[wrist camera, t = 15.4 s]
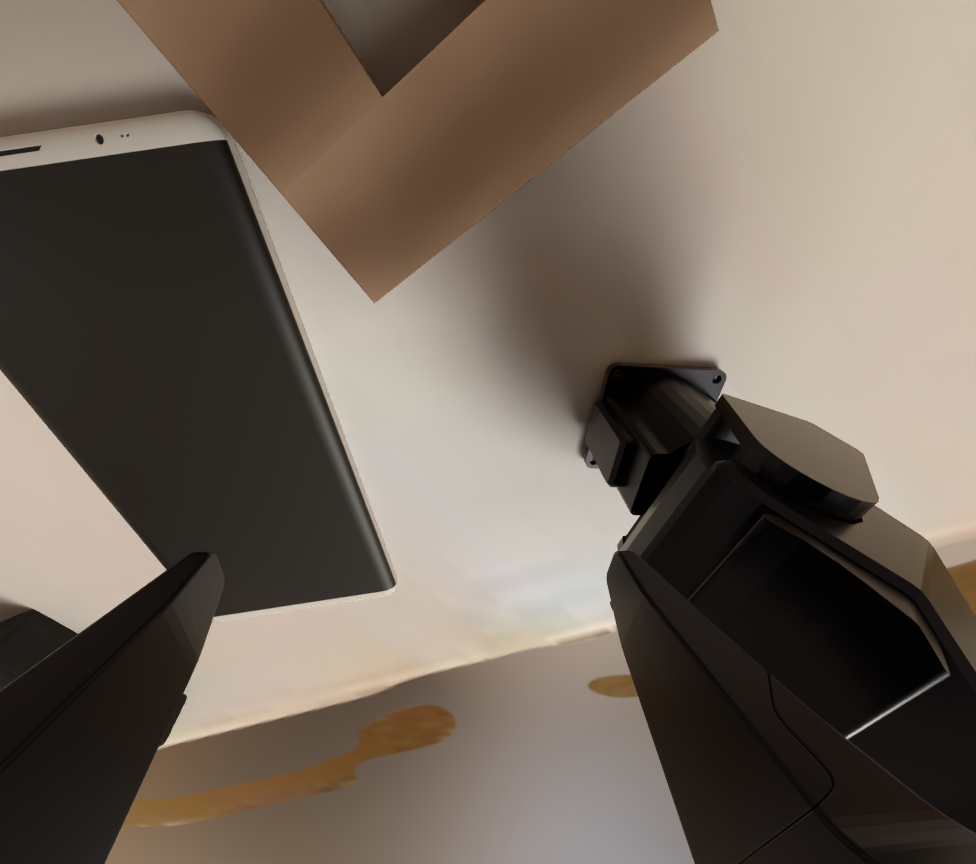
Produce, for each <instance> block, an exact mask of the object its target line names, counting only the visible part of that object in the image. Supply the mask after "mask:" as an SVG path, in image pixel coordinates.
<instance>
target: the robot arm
mask: <svg viewBox="0 0 976 864" xmlns="http://www.w3.org/2000/svg"><path fill="white" fill-rule="evenodd" d="M617 370H620V373H619V374H618V375H617V376H613V374H614V372H615V371H617ZM715 376H717V378H716V379H715V380H714V381H712V380H713V378H714V377H715ZM725 381H726V374H725V373H724V372H723V371H722V370H720V369H718V368H707V367H689V366H671V365H654V364H636V363H613V364H611V365H610V366H609V367H608V368H607V371H606V374H605V378H604V382H603V386H602V389H601V393H600V397H599V399H598V400H597V401H596V402H595V403H594V406H593V410H592V414H591V418H590V421H589V425H588V429H587V433H586V437H585V442H586V444H587V447H586V451H585V455H584V461H585V463H586V465H587V467H589V468H599V469H600V471H601V473H602V475H603V477H604V479H605V480H606V482H607V484H608V485H609V486H610V487H617V489H618V490H619V492H620V494H621V496H622V498H623V500H624V501H625V503H626V505H627V507H628V509H629V511H630V512H631V514H633V515H640V517H639V518H638V520H637V521H636V522H635V524H634V525H633V527H632V528H631V530H630V531H629V532H628V534H627V535H626V536H623V537H622V539H621V540H620V542H619V543H618V545H617V546H618V551H616V552H615V553H614V555H613V558H612V561H611V564H610V567H609V569H608V572H607V585H608V589H609V594H610V598H611V601H610V605H611V608H612V610H613V612H614V616H615V620H616V625H617V629H618V634H619V638H620V642H621V646H622V649H623V652H624V655H625V658H626V661H627V664H628V667H629V670H630V673H631V676H632V679H633V682H634V685H635V688H636V691H637V694H638V697H639V700H640V703H641V706H642V708H643V712H644V715H645V718H646V721H647V723H648V726H649V729H650V732H651V735H652V738H653V741H654V744H655V747H656V750H657V753H658V756H659V759H660V762H661V765H662V768H663V771H664V774H665V777H666V780H667V783H668V786H669V789H670V791H671V795H672V798H673V800H674V804H675V806H676V809H677V812H678V815H679V818H680V821H681V824H682V827H683V830H684V833H685V836H686V839H687V842H688V845H689V848H690V851H691V854H692V857H693V860H694V862H695V864H976V616H975V615H974V613H973V611H972V610H971V608H970V607H969V605H968V603H967V602H966V600H965V598H964V597H963V595H962V593H961V592H960V590H959V588H958V587H957V585H956V584H955V582H954V580H953V579H952V577H951V575H950V574H949V572H948V570H947V569H946V567H945V566H944V564H943V562H942V561H941V559H940V557H939V556H938V554H937V553H936V551H935V549H934V547H933V546H932V545H931V544H930V543H929V541H928V540H926V539H925V538H924V537H922V536H921V535H920V534H918V533H917V532H915V531H913V530H912V529H910V528H909V527H907V526H906V525H904V524H903V523H901V522H899V521H898V520H896V519H895V518H893V517H892V516H890V515H889V514H887V513H886V512H884V511H882V510H881V509H879V508H878V507H876V506H875V504H876V503H877V502H878V500H879V497H878V494H877V491H876V488H875V485H874V483H873V480H872V477H871V474H870V471H869V468H868V465H867V463H866V460H865V457H864V454H863V453H861V452H860V451H859V450H857V449H855V448H854V447H852V446H850V445H849V444H847V443H845V442H843V441H842V440H840V439H838V438H837V437H835V436H833V435H831V434H830V433H828V432H826V431H825V430H823V429H821V428H820V427H818V426H816V425H814V424H812V423H810V422H808V421H805V420H802V419H799V418H796V417H793V416H790V415H787V414H784V413H781V412H778V411H775V410H771V409H768V408H765V407H762V406H759V405H756V404H753V403H750V402H747V401H744V400H741V399H738V398H735V397H732V396H729V395H726V394H722V395H721V397H720V398H719V400H718V401H717V399H718V397H719V395H720V392H721V390H722V388H723V385H724V383H725ZM592 458H594V459H595V460H593V461H590V460H591V459H592ZM223 587H224V575H223V572H222V569H221V567H220V564H219V561H218V558H217V556H216V554H215V553H213V552H193V553H191V554H189V555H187V556H186V557H184V558H183V559H182V560H180V561H179V562H177V563H176V564H175V565H173V566H172V567H171V568H169V569H168V570H166V571H165V572H164V573H162V574H161V575H159V576H158V577H157V578H155V579H154V580H153V581H151V582H150V583H148V584H147V585H146V586H144V587H143V588H141V589H140V590H139V591H137V592H136V593H135V594H133V595H132V596H130V597H129V598H128V599H126V600H125V601H123V602H122V603H121V604H119V605H118V606H117V607H115V608H114V609H112V610H111V611H110V612H108V613H107V614H105V615H104V616H103V617H101V618H100V619H99V620H97V621H96V622H94V623H93V624H92V625H90V626H89V627H87V628H86V629H85V630H83V631H82V632H80V633H79V634H78V635H76V636H75V637H74V638H72V639H71V640H69V641H68V642H67V643H65V644H64V645H62V646H61V647H60V648H58V649H57V650H56V651H54V652H53V653H51V654H50V655H49V656H47V657H46V658H44V659H43V660H42V661H40V662H39V663H38V664H36V665H35V666H33V667H32V668H31V669H29V670H28V671H26V672H25V673H24V674H22V675H21V676H20V677H18V678H17V679H15V680H14V681H13V682H11V683H10V684H8V685H7V686H6V687H4V688H3V689H2V690H0V864H105V862H106V859H107V857H108V855H109V853H110V851H111V848H112V846H113V844H114V842H115V840H116V838H117V836H118V833H119V831H120V829H121V827H122V825H123V823H124V820H125V818H126V816H127V814H128V812H129V810H130V807H131V805H132V803H133V801H134V799H135V797H136V795H137V792H138V790H139V788H140V786H141V784H142V782H143V779H144V777H145V775H146V773H147V771H148V768H149V766H150V764H151V762H152V760H153V758H154V756H155V753H156V751H157V749H158V747H159V745H160V743H161V740H162V738H163V736H164V734H165V732H166V730H167V727H168V725H169V723H170V721H171V719H172V717H173V714H174V712H175V710H176V708H177V706H178V704H179V701H180V699H181V697H182V695H183V693H184V691H185V688H186V686H187V684H188V682H189V680H190V678H191V675H192V673H193V671H194V669H195V666H196V664H197V662H198V660H199V657H200V654H201V652H202V649H203V646H204V643H205V640H206V637H207V634H208V631H209V629H210V626H211V623H212V620H213V617H214V614H215V611H216V608H217V605H218V602H219V599H220V596H221V593H222V590H223Z"/></svg>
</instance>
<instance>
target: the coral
mask: <svg viewBox="0 0 976 864" xmlns="http://www.w3.org/2000/svg"><path fill="white" fill-rule="evenodd" d="M76 635H78V634H77V633H75V632H74V631H72V630H70V629H68V628H66V627H64V626H63V625H62V624H60V623H58V622H56V621H54V620H53V619H51V618H49V617H47V616H45V615H43V614H42V613H40V612H38V611H34V609H32V610H29V611H26V612H24V613H22V614H19V615H17V616H14V617H12V618H10V619H7V620H5V621H3V622H0V690H2V689H3V688H4V687H6V686H7V685H8V684H10V683H11V682H13V681H14V680H15V679H17V678H18V677H20V676H21V675H22V674H24V673H25V672H26V671H28V670H29V669H31V668H32V667H33V666H35V665H36V664H38V663H39V662H40V661H42V660H43V659H44V658H46V657H47V656H49V655H50V654H51V653H53V652H54V651H56V650H57V649H58V648H60V647H61V646H62V645H64V644H65V643H67V642H68V641H69V640H71V639H72V638H74V637H75V636H76ZM186 699H187V696H186V695H185V694H183V695H182V697H181V699H180V701H179V704H178V706H177V708H176V710H175V712H174V714H173V717H172V719H171V721H170V723H169V725H168V727H167V730H166V732H165V734H164V736H163V738H162V740H161V743H160V745H159V746H161V745H163V744H164V743H165V742H166V740H167V738H168V736H169V735H170V733H171V730H172V728H173V725H174V724H175V722H176V720H177V718H178V716H179V714H180V712H181V709H182V707H183V705H184V704H185V701H186Z"/></svg>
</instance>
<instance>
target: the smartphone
mask: <svg viewBox="0 0 976 864" xmlns="http://www.w3.org/2000/svg"><path fill="white" fill-rule="evenodd" d="M224 134H225V135H224ZM0 370H1V371H2V372H3V373H4V375H5V376H6V377H7V378H8V379H9V381H10V382H11V383H12V384H13V385H14V387H15V388H16V389H17V390H18V391H19V393H20V394H21V395H22V396H23V397H24V399H25V400H26V401H27V402H28V403H29V405H30V406H31V407H32V408H33V410H34V411H35V412H36V413H37V414H38V416H39V417H40V418H41V419H42V420H43V422H44V423H45V424H46V425H47V426H48V428H49V429H50V430H51V431H52V432H53V434H54V435H55V436H56V437H57V438H58V440H59V441H60V442H61V443H62V444H63V446H64V447H65V448H66V449H67V450H68V452H69V453H70V454H71V455H72V456H73V458H74V459H75V460H76V461H77V462H78V464H79V465H80V466H81V467H82V468H83V470H84V471H85V472H86V473H87V475H88V476H89V477H90V478H91V479H92V481H93V482H94V483H95V484H96V485H97V487H98V488H99V489H100V490H101V491H102V493H103V494H104V495H105V496H106V497H107V499H108V500H109V501H110V502H111V503H112V505H113V506H114V507H115V508H116V509H117V511H118V512H119V513H120V514H121V515H122V517H123V518H124V519H125V520H126V521H127V523H128V524H129V525H130V526H131V527H132V529H133V530H134V531H135V532H136V533H137V535H138V536H139V537H140V538H141V540H142V541H143V542H144V543H145V544H146V546H147V547H148V548H149V549H150V550H151V552H152V553H153V554H154V555H155V556H156V558H157V559H158V560H159V561H160V562H161V564H162V565H163V566H164V567H165V568H166V570H168V569H169V568H171V567H172V566H173V565H175V564H176V563H177V562H179V561H180V560H182V559H183V558H184V557H186V556H187V555H189V554H191V553H193V552H213V553H215V554H216V556H217V558H218V561H219V564H220V567H221V569H222V572H223V575H224V587H223V590H222V593H221V596H220V599H219V602H218V605H217V608H216V611H215V614H214V617H213V621H225V620H232V619H238V618H245V617H251V616H258V615H265V614H271V613H278V612H284V611H291V610H297V609H304V608H311V607H317V606H324V605H330V604H337V603H344V602H350V601H357V600H363V599H370V598H376V597H383V596H388V595H390V594H392V593H393V592H394V591H395V589H396V585H397V576H396V573H395V570H394V567H393V565H392V562H391V559H390V557H389V554H388V551H387V549H386V546H385V543H384V540H383V538H382V535H381V532H380V530H379V527H378V524H377V522H376V519H375V516H374V514H373V511H372V508H371V505H370V503H369V500H368V497H367V495H366V492H365V489H364V487H363V484H362V481H361V478H360V476H359V473H358V470H357V468H356V465H355V462H354V460H353V457H352V454H351V452H350V449H349V446H348V444H347V441H346V438H345V436H344V433H343V430H342V427H341V425H340V422H339V419H338V417H337V414H336V411H335V409H334V406H333V403H332V401H331V398H330V395H329V393H328V390H327V387H326V385H325V382H324V379H323V377H322V374H321V371H320V369H319V366H318V363H317V361H316V358H315V355H314V353H313V350H312V347H311V345H310V342H309V339H308V337H307V334H306V331H305V328H304V326H303V323H302V320H301V318H300V315H299V312H298V310H297V307H296V304H295V302H294V299H293V296H292V294H291V291H290V288H289V286H288V283H287V280H286V278H285V275H284V272H283V270H282V267H281V264H280V262H279V259H278V256H277V254H276V251H275V248H274V246H273V243H272V240H271V237H270V235H269V232H268V229H267V227H266V224H265V221H264V219H263V216H262V213H261V211H260V208H259V205H258V203H257V200H256V197H255V195H254V192H253V189H252V187H251V184H250V181H249V179H248V176H247V173H246V171H245V168H244V165H243V163H242V160H241V157H240V155H239V152H238V149H237V147H236V144H235V141H234V139H233V137H232V135H231V134H230V133H229V132H228V130H227V129H226V128H225V127H224V126H223V125H222V123H221V122H220V121H219V120H218V119H217V118H215V117H214V116H212V115H210V114H207V113H203V112H199V111H195V110H184V111H177V112H170V113H163V114H156V115H150V116H143V117H136V118H129V119H122V120H115V121H108V122H101V123H94V124H87V125H81V126H74V127H67V128H60V129H53V130H46V131H39V132H32V133H25V134H18V135H11V136H5V137H0Z"/></svg>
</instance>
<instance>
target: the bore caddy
mask: <svg viewBox="0 0 976 864" xmlns="http://www.w3.org/2000/svg"><path fill="white" fill-rule="evenodd" d="M117 1H118V2H119V4H120V5H121V6H122V7H123V8H124V9H125V11H126V12H127V13H128V14H129V15H130V16H131V18H132V19H133V20H134V21H135V22H136V24H137V25H138V26H139V27H140V28H141V29H142V31H143V32H144V33H145V34H146V35H147V36H148V38H149V39H150V40H151V41H152V42H153V44H154V45H155V46H156V47H157V48H158V49H159V51H160V52H161V53H162V54H163V55H164V56H165V58H166V59H167V60H168V61H169V62H170V63H171V65H172V66H173V67H174V68H175V69H176V71H177V72H178V73H179V74H180V75H181V76H182V78H183V79H184V80H185V81H186V82H187V83H188V85H189V86H190V87H191V88H192V89H193V91H194V92H195V93H196V94H197V95H198V96H199V98H200V99H201V100H202V101H203V102H204V103H205V105H206V106H207V107H208V108H209V109H210V111H211V112H212V113H213V114H214V115H215V116H216V118H217V119H218V120H219V121H220V122H221V123H222V125H223V126H224V127H225V128H226V129H227V130H228V132H229V133H230V134H231V135H232V136H233V138H234V139H235V140H236V141H237V142H238V143H239V145H240V146H241V147H242V148H243V149H244V150H245V152H246V153H247V154H248V155H249V156H250V158H251V159H252V160H253V161H254V162H255V163H256V165H257V166H258V167H259V168H260V169H261V170H262V172H263V173H264V174H265V175H266V176H267V178H268V179H269V180H270V181H271V182H272V183H273V185H274V186H275V187H276V188H277V189H278V190H279V192H280V193H281V194H282V195H283V196H284V197H285V199H286V200H287V201H288V202H289V203H290V205H291V206H292V207H293V208H294V209H295V210H296V212H297V213H298V214H299V215H300V216H301V217H302V219H303V220H304V221H305V222H306V223H307V225H308V226H309V227H310V228H311V229H312V230H313V232H314V233H315V234H316V235H317V236H318V237H319V239H320V240H321V241H322V242H323V243H324V245H325V246H326V247H327V248H328V249H329V250H330V252H331V253H332V254H333V255H334V256H335V257H336V259H337V260H338V261H339V262H340V263H341V264H342V266H343V267H344V268H345V269H346V270H347V272H348V273H349V274H350V275H351V276H352V277H353V279H354V280H355V281H356V282H357V283H358V284H359V286H360V287H361V288H362V289H363V290H364V292H365V293H366V294H367V295H368V296H369V297H370V299H371V300H372V301H373V302H374V303H375V302H377V301H378V300H379V299H380V298H382V297H383V296H384V295H386V294H387V293H388V292H389V291H391V290H392V289H393V288H394V287H396V286H397V285H398V284H399V283H401V282H402V281H403V280H404V279H406V278H407V277H408V276H410V275H411V274H412V273H413V272H415V271H416V270H417V269H418V268H420V267H421V266H422V265H423V264H425V263H426V262H427V261H428V260H430V259H431V258H432V257H433V256H435V255H436V254H437V253H439V252H440V251H441V250H442V249H444V248H445V247H446V246H447V245H449V244H450V243H451V242H452V241H454V240H455V239H456V238H457V237H459V236H460V235H461V234H463V233H464V232H465V231H466V230H468V229H469V228H470V227H471V226H473V225H474V224H475V223H476V222H478V221H479V220H480V219H481V218H483V217H484V216H485V215H487V214H488V213H489V212H490V211H492V210H493V209H494V208H495V207H497V206H498V205H499V204H500V203H502V202H503V201H504V200H505V199H507V198H508V197H509V196H511V195H512V194H513V193H514V192H516V191H517V190H518V189H519V188H521V187H522V186H523V185H524V184H526V183H527V182H528V181H529V180H531V179H532V178H533V177H535V176H536V175H537V174H538V173H540V172H541V171H542V170H543V169H545V168H546V167H547V166H548V165H550V164H551V163H552V162H553V161H555V160H556V159H557V158H559V157H560V156H561V155H562V154H564V153H565V152H566V151H567V150H569V149H570V148H571V147H572V146H574V145H575V144H576V143H577V142H579V141H580V140H581V139H583V138H584V137H585V136H586V135H588V134H589V133H590V132H591V131H593V130H594V129H595V128H596V127H598V126H599V125H600V124H601V123H603V122H604V121H605V120H606V119H608V118H609V117H610V116H612V115H613V114H614V113H615V112H617V111H618V110H619V109H620V108H622V107H623V106H624V105H625V104H627V103H628V102H629V101H630V100H632V99H633V98H634V97H636V96H637V95H638V94H639V93H641V92H642V91H643V90H644V89H646V88H647V87H648V86H649V85H651V84H652V83H653V82H654V81H656V80H657V79H658V78H660V77H661V76H662V75H663V74H665V73H666V72H667V71H668V70H670V69H671V68H672V67H673V66H675V65H676V64H677V63H678V62H680V61H681V60H682V59H684V58H685V57H686V56H687V55H689V54H690V53H691V52H692V51H694V50H695V49H696V48H697V47H699V46H700V45H701V44H702V43H704V42H705V41H706V40H708V39H709V38H710V37H711V36H713V35H714V34H715V33H716V32H718V31H719V30H718V26H717V23H716V19H715V15H714V11H713V8H712V4H711V0H485V1H484V2H483V3H482V4H481V5H480V6H479V7H477V8H476V9H475V10H474V11H473V12H472V13H471V14H470V15H469V16H468V17H467V18H466V19H465V20H464V21H463V22H462V23H461V24H460V25H458V26H457V27H456V28H455V29H454V30H453V31H452V32H451V33H450V34H449V35H448V36H447V37H446V38H445V39H444V40H443V41H442V42H440V43H439V44H438V45H437V46H436V47H435V48H434V49H433V50H432V51H431V52H430V53H429V54H428V55H427V56H426V57H425V58H424V59H423V60H421V61H420V62H419V63H418V64H417V65H416V66H415V67H414V68H413V69H412V70H411V71H410V72H409V73H408V74H407V75H406V76H405V77H403V78H402V79H401V80H400V81H399V82H398V83H397V84H396V85H395V86H394V87H393V88H392V89H391V90H390V91H389V92H388V93H387V94H386V95H384V96H383V94H382V93H381V91H380V90H379V88H378V87H377V85H376V84H375V82H374V80H373V79H372V77H371V76H370V74H369V73H368V71H367V70H366V68H365V67H364V65H363V63H362V62H361V60H360V59H359V57H358V56H357V54H356V53H355V51H354V50H353V48H352V47H351V45H350V43H349V42H348V40H347V39H346V37H345V36H344V34H343V33H342V31H341V30H340V28H339V27H338V25H337V23H336V22H335V20H334V19H333V17H332V16H331V14H330V13H329V11H328V10H327V8H326V6H325V5H324V3H323V2H322V0H117Z"/></svg>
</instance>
